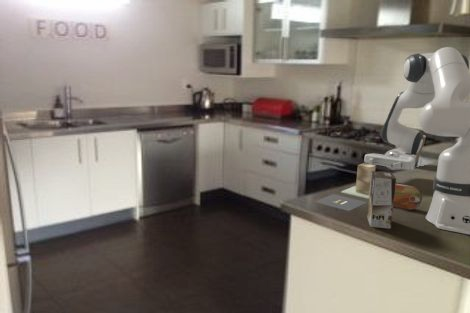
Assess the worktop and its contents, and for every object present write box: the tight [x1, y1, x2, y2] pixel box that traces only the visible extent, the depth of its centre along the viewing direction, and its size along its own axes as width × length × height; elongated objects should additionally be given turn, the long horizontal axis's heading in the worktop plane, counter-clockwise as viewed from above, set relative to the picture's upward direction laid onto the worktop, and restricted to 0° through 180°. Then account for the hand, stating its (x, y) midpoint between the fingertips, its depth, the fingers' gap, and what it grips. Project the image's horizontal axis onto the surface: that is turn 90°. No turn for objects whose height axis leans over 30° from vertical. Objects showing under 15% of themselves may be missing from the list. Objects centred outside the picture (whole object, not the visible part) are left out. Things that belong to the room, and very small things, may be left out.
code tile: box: [314, 193, 368, 212], centre depth 152 cm, size 14×14×1 cm
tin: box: [393, 183, 423, 211], centre depth 147 cm, size 15×3×8 cm, turn 57°
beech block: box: [355, 162, 377, 195], centre depth 162 cm, size 5×5×11 cm
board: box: [340, 185, 369, 200], centre depth 163 cm, size 14×12×1 cm
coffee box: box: [366, 170, 397, 230], centre depth 130 cm, size 9×6×16 cm
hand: (381, 163), depth 170 cm, fingers open, 8 cm apart
